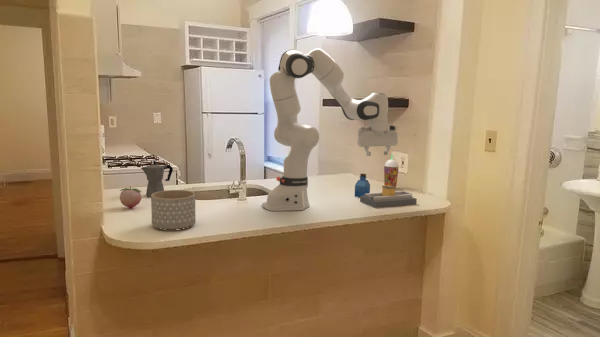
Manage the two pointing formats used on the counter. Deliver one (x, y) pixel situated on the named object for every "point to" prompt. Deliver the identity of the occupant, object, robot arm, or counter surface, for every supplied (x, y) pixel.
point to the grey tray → (388, 199)
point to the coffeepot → (155, 177)
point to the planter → (173, 209)
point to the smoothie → (391, 172)
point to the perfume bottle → (362, 186)
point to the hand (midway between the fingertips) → (377, 155)
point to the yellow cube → (388, 190)
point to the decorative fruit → (130, 197)
